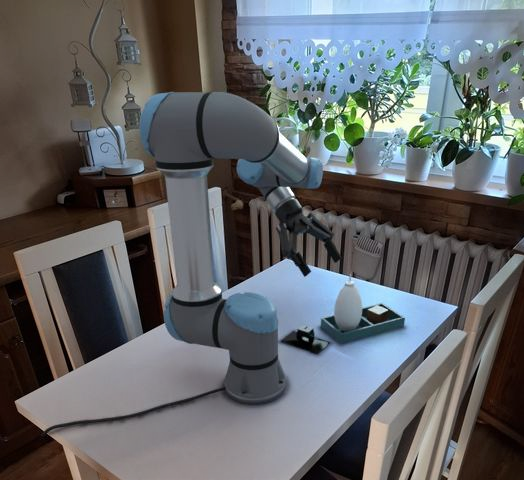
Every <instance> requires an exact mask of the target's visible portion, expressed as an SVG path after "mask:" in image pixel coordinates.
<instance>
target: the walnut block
mask: <svg viewBox="0 0 524 480" xmlns="http://www.w3.org/2000/svg"><path fill="white" fill-rule="evenodd" d="M388 313H389V310H388V309H385V308H383V307H380V306H378V305H376V306H374V307H372V308H370V309H368V310H367V320H368V321H369V322H371V323H372V324H373V325H375V324H378V323H382V322H386V321H388Z"/></svg>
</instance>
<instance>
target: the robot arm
mask: <svg viewBox="0 0 524 480" xmlns="http://www.w3.org/2000/svg"><path fill="white" fill-rule="evenodd" d="M138 127H139V128H138V129H139V138H140V143H141V145H142V148H143V149H144V151H145V153H146V154H147V155H149V156H150V157H152V158H155V159H154V160H155V166H156V170H157V171H158V172H160V173H161V174H162V175H163V176H164V179H165V188H166V189H165V190H166V197H167V206H168V216H169V223H170V233H171V241H172V250H173V259H174V267H175V276H176V285H175V286H174V288H172V289H171V294H170V295H169V296H168V298H167V299H166V301H165V304H164V307H165V309H164V310H163V321H164V326H165V328H166V331H167V332H168V334H169V335H170V336H171V337H172V338H173V339H175V340H176V341H179V342H184V343H186V344H189V345H199V346H203V347H205V346H206V347H209V348H210V347H211V348H216V349H222V350H227V351H228V355H229V362H228V366H227V370H226V373H225V376H224V379H223V385H224V386H222V387H219V388H215V389H212V390H209V391H206V392H203V393H200V394H197V395H194V396H191V397H187V398H184V399H180V400H176V401H173V402H172V401H171V402H168V403H165V404H161V405H158V406H154V407H151V408H148V409H145V410H142V411H138V412H135V413H130V414H125V415H120V416H113V417H105V418H104V417H103V418H95V419H83V420H81V419H80V420H75V421H71V422H65V423H58V424H54V425H51V426H49V427H47V428H46V429H45V430H44V431H43V432H42V433H41V434H40V437H41V438H42V437H45V436H47V434H48V433H50V432H52V431H53V430H56V429H61V428H66V427H71V426H76V425H85V424H86V425H87V424H98V423H99V424H100V423H106V422H114V421H121V420H127V419H132V418H136V417H140V416H143V415H146V414H150V413H154V412H156V411H159V410H162V409H166V408H169V407H173V406H177V405H180V404H185V403H189V402H192V401H195V400H199V399H201V398H204V397H207V396H209V395H210V396H211V395H213V394H216V393H219V392H223V391H225V393H226V396H228V397H229V398H230V399H231V400H233V401H234V402H237V403H240V404H245V405H263V404H267V403H271V402H273V401H276V400H277V399H279V398H280V397H281V396H282V395H283V394H284V393H285V391H286V389H287V377H286V374H285V371H284V369H283V366H282V364H281V362H280V359H279V319H278V311H277V307H276V305H275V304H274V303H273V301H272V300H271V299H270V298H268V297H267V296H264V295H262V294H259V293H255V292H243V293H241V292H238V293H234V294H231V295H229V296H228V297H227V298H223V292H222V291H223V290H222V286H221V285H219V284H218V283H217V282H216V281H215V269H214V254H213V243H212V241H213V239H212V227H211V214H210V202H209V201H210V200H209V187H208V186H209V185H208V174H209V172H210V171H211V170H212V168H214V159H216V160H217V159H227V160H228V159H235V160H236V159H237V163H236V173H237V176H238V177H239V179H241V180H242V181H243V182H244V183H245V184H247V185H251V186H253V187H255V188H257V189H258V190H259V191H260V193H261V194H262V196H263V197H264V199H265V200H266V203H267V204H268V205H269V207H270V208H271V210H272V212H274V215H275V217H276V218H277V220H278V222H279V223H278V225H276V227H275V230H276V232H277V233H278V238H279V243H280V249H281V254H282V257H283V258H287V260H291V261H292V262H293V264H294V265H295V266H296V267H298V269H299V271H300V272H301V274H302V276H303V277H304V278H305V277H307V276H308V275H309V274H310V273H312V270H311V268H310V267H309V265H308V264H307V262H306V261H305V258H303V256H302V254H301V252H300V251H298V252H297V247H298V246H297V245H298V236H299V235H300V234H302V235H303V234H308V235H310V236H312V237H314V238H316V239H317V240H319V241H320V242H322V243H324V244H323V246H324V248H325V250H326V251H327V253H328V255H329V256H330V258H331V259H332V262H334V264H336V263H338V262H339V261H340V260H342V259H343V257H342V255H341V253H340V252H339V250H338V247H337V246H336V244H335V243H334V241H333V238H334V236H335V233H334V232H333V231H332V230H331V229H330V228H329V227H327V226H326V225H325V224H324V223H323V222H321V221H320V220H319V219H318V218H317V217H316V216H315V215H314V214H313V212H312V211H309V213H308V214H307V215H305V214H304V212H303V206H302V205H301V204H300V202H299V201H298V199H297V198H296V196H295V193H294V192H293V191H292V189H291V188H295V189H305V190H308V189H318V188H320V186H321V184H322V180H323V175H324V166H323V161H322V160H321V159H320V158H318V157H316V158H315V157H311V156H310V157H305V155H303V153H302V152H300V150H298V148H296V147H295V146H294V145H293V144H292V143H291V142H290V141H289V140H288V139H287V138H286V137H285V136H284V135H282V133H281V132H280V129H279V126H278V123H277V122H276V121H275V119H274V118H272V116H271V115H270V114H268V113H267V112H266V111H265V110H264V109H262V108H261V107H259V106H258V105H256V104H255V103H253V102H252V101H249V100H247V99H245V98H243V97H241V96H238V95H236V94H233V93H230V92H226V91H211V92H209V91H205V92H204V91H202V92H201V91H200V92H199V91H197V92H196V91H195V92H193V91H189V92H188V91H187V92H185V91H183V92H182V91H179V92H177V91H170V92H162V93H156V94H154V95H152V96H150V98H149V99H148V100H147V101H146V103H145V104H144V107H143V108H142V111H141V114H140V117H139V126H138Z"/></svg>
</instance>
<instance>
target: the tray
mask: <svg viewBox="0 0 524 480" xmlns="http://www.w3.org/2000/svg"><path fill="white" fill-rule="evenodd" d="M376 305H378V306H380V307H383V308H385V309H388V310H389V313H388V321H386V322H382V323H378V324H375V325H373V324H372V323H371V322H369V321H368V320H367V310H368V309H370V308H372V307H374V306H376ZM405 323H406V317H405V316H404V315H402V314H400V313H398V311H395V310H394V309H392V308H391V307H389V306H387V304H385V303H383V302H380V303H375V304H372V305H368V306H362V316H361V320H360V322H359V324H358V326H357V327H356V329H354V330H352V331H348V332H344V331H342V330H341V329H339V328H338V326H337V324H336V322H335V317H334V314H331V315H328V316H323V317H320V328H321V329H322V330H324V332H325V333H327V334H328V335H329V336H330V337H332V338H333V339H334V340H335V341H336V342H337V343H338V344H340V345H342V344H347V343H351V342H354V341H357V340H361V339H364V338H367V337H368V338H369V337H372V336H375V335H378V334H382V333H383V334H384V333H387V332H390V331H394V330H397V329H401V328H404V327H405Z"/></svg>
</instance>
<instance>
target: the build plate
mask: <svg viewBox="0 0 524 480" xmlns="http://www.w3.org/2000/svg"><path fill="white" fill-rule="evenodd" d="M315 335H316V333H315V328H313V327H311V326H307V325H304V324H302V325H301V326H299V327H298V328H297V329H296V330H293V331H291V332H290V333H289V334H288V335H286V336H284V337H283V338H282V339H281V340H280V343H282V344H285V345H289V346H291V347H294V348H297V349H300V350H303V351H306V352H309V353H311V354H313V355H319V354H320V353H322V351H324V350H325V349H326V348H327V347H328V346H329V345H330V344H331V342H330V341H327V340H324V339H322V338H318V337H315Z"/></svg>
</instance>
